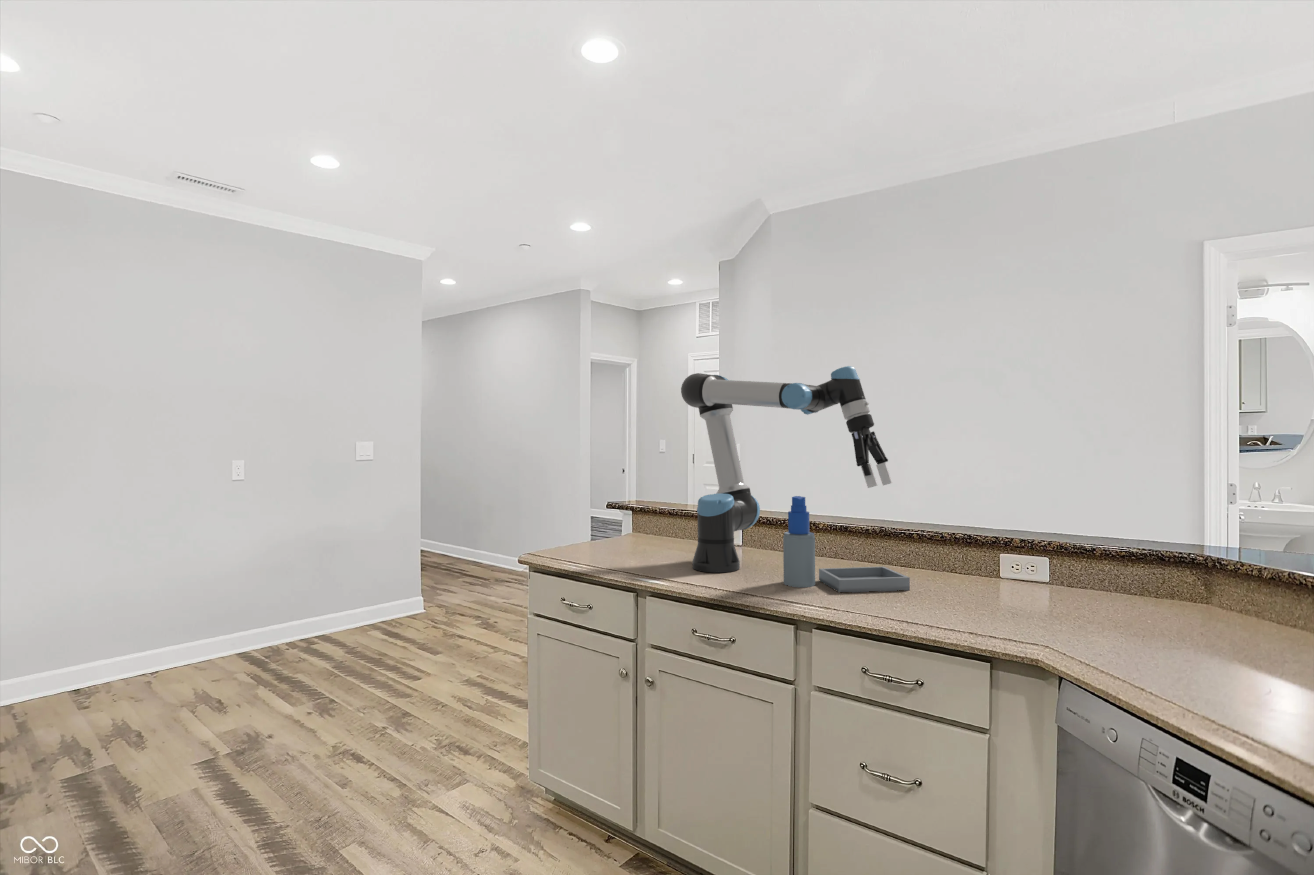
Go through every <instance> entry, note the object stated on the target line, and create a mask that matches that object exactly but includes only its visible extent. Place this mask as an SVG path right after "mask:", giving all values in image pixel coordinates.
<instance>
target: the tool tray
mask: <svg viewBox="0 0 1314 875" xmlns="http://www.w3.org/2000/svg"><path fill="white" fill-rule="evenodd" d="M910 578H911V577H909V576H907V575H904V574H902V573H900V572H898V571H895V570H894V569H890V568H889V567H886V566H858V567H830V568H828V567H827V568H823V567H822V568H818V581H819V580H820V581H819V582H820V583H822V582H823V583H822V584H824V583H825V584H824V585H826V586H827V585H828V586H827V587H829V588H830V587H831V588H830V589H832V588H833V590H834V589H835V590H837V591H838V592H837V591H836V592H837V593H839V592H852V593H870V592H869V591H878V592H895V591H896V592H897V590H898V591H899V590H904V591H910V590H911V589H910V586H911V585H910V581H911V580H910ZM835 590H834V591H835Z"/></svg>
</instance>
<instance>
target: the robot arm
mask: <svg viewBox="0 0 1314 875" xmlns="http://www.w3.org/2000/svg"><path fill="white" fill-rule="evenodd" d="M680 395H681V397H682V399H683V402H685V404H686V405H688V406H690V407H693V408H696V409H698V412H699V417H700V418H701V419H703V420H704V421H705V425H706V430H707V435H708V440H709V445H710V449H711V454H712V458H713V464H714V468H715V469H714V470H715V474H716V478H717V484H718V490H717V492H716V493H712V494H706V495H703V496H700V498H699V499H698V500H697V507H696V512H697V545H696V549H695V552H694V556H693V558H692V569H693V570H695V571H697V572H698V571H699V572H704V573H718V574H719V573H731V572H735V571H739V570H740V568H741V566H740V562H741V561H740V558H739V555H738V553H737V552H738V551H737V549H736V546H735V532H738V531H744V530H747V529H749V528H751V527H753V526H754V525H755V524H756V523H757V521H758V519H759V518H760V514H761V508H760V503H759V502H758V500H757V499H756V498H755V497H754V495H752V492H751V488H750V486H749V485H747V484H746V483H745V481H744V477H743V472H742V467H741V463H740V457H739V453H738V449H737V443H736V439H735V434H734V428H733V425H732V419H731V414H732V413H733V411H734V407H733V405H738V406H739V405H740V406H750V407H751V406H753V407H766V408H777V409H778V408H780V409H791V410H800V411H801V412H802V413H803V414H805V415H807V416H809V415H811V414H817V413H818V412H820V411H822V410H826V409H827V408H831V407H833V406H836V405H838V404H840V409H841V412H842V415H843V418H844V420H846V422H845V423H846V424H845V425H846V426H847V427H846V428H847V430H848V432H849V433H850V434H851V438H852V441H853V447H854V455H855V461H856V466H857V467H860V468H861V471H862V474H863V476H864V480H865V483H866V487H867V489H870V488H873V487H877V486H878V485H879V484H878V482H877V479H876V478H877V477H876V476H875V472H874V469H873V467H872V464H871V463H870V459H869V458H870V456H871V457H873V459H874V461H875V463H876V465H875V466H876V469H877V471H878V475H879V478H880V481H881V484H882V486H887V485H891V484H893V481H892V478H891V475H890V471H889V470H888V469H889V468H888V465H887V463H888V462H889V459H888V457H887V456H886V454H885V451H883V449H882V447H881V444H880V442H879V439H878V438H877V435H876V432H875V431H874V430H873V431H871V430H870V429H871V428H872V427H874V426H875V422H874V420H873V417H872V414H870V411H871V410H870V408H869V404H870V402H869V401H867V398H866V396H865V392H864V389H863V387H862V383H861V379H860V378H859V374H858V373H857V369H856V368H855V367H854V366H851V365H847V366H843V367H842V366H841V367H839V368H837V369H835V370H833V371H832V372H831V373H830V380H828V381H825V382H822V383H821V384H818V385H812V384H804V383H801V382H792V383H791V382H789V383H787V382H775V381H774V382H770V381H769V382H768V381H754V380H753V381H751V380H732V379H731V380H730V379H728V378H726V377H724V376H722V375H718V374H708V373H701V372H700V373H692V374H690V375H688V376H686V378H685V379H684V380H683V382H682V384H681V387H680ZM869 454H870V456H869Z"/></svg>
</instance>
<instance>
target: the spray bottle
mask: <svg viewBox="0 0 1314 875" xmlns="http://www.w3.org/2000/svg"><path fill="white" fill-rule="evenodd" d="M787 517H788V518H787V519H788V520H787V524H788V525H787V526H788V528H787V529H788V531H785V532H783V536H782V538H783V539H782V540H783V542H782V543H783V544H782V546H783V550H782V551H783V552H782V553H783V558H782V559H783V585H785V586H787V585H788V587H791V586H792V587H793V588H812V587H815V586H816V536H815V533H814V532H811V531H810V511H807V505H806V497H805V496H800V495H794V496H791V505H790V510H789V511H788V512H787ZM814 585H815V586H814Z"/></svg>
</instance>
